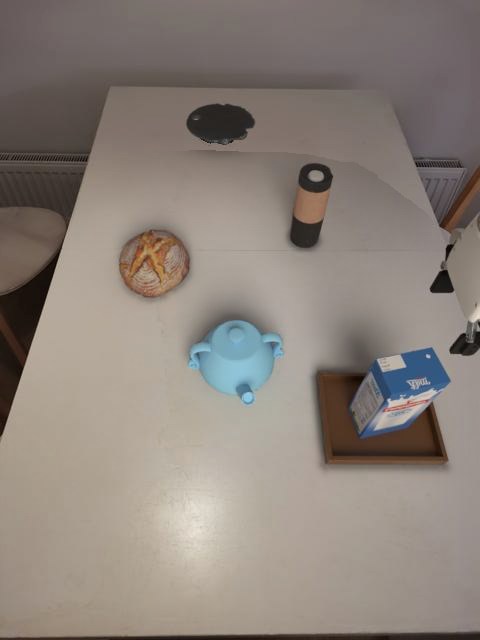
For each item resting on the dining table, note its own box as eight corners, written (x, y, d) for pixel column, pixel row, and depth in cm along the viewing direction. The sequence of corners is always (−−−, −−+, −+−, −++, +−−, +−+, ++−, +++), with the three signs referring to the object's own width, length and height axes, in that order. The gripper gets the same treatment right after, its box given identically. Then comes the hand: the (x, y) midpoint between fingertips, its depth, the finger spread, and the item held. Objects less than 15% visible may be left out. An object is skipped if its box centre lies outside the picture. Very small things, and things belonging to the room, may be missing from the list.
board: (172, 133, 137) (170, 118, 133) (223, 108, 146) (223, 93, 141) (217, 165, 128) (217, 150, 124) (269, 137, 137) (270, 121, 133)
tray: (420, 378, 89) (425, 373, 87) (443, 465, 79) (448, 461, 77) (316, 378, 89) (318, 372, 87) (325, 464, 79) (328, 460, 77)
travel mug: (283, 240, 111) (292, 175, 94) (298, 224, 114) (309, 158, 98) (309, 253, 108) (323, 188, 92) (324, 235, 112) (339, 170, 96)
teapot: (274, 329, 95) (279, 295, 85) (296, 414, 84) (305, 386, 74) (185, 342, 93) (179, 307, 83) (195, 430, 82) (190, 403, 72)
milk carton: (359, 439, 81) (391, 394, 64) (347, 408, 84) (374, 358, 68) (407, 427, 82) (451, 381, 66) (394, 398, 86) (432, 346, 69)
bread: (120, 305, 100) (107, 277, 91) (127, 243, 111) (116, 213, 102) (190, 299, 100) (183, 271, 91) (190, 238, 111) (184, 208, 102)
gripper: (599, 292, 38) (501, 379, 52) (525, 169, 48) (459, 270, 62) (514, 292, 38) (439, 379, 52) (457, 169, 48) (407, 270, 62)
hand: (450, 320), depth 57 cm, fingers open, 9 cm apart
